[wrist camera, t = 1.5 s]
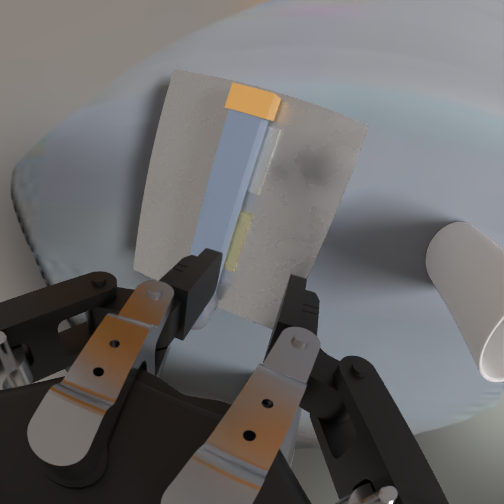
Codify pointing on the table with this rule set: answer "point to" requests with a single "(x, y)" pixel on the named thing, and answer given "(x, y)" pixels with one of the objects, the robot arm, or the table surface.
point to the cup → (472, 291)
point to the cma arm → (232, 173)
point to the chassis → (257, 195)
